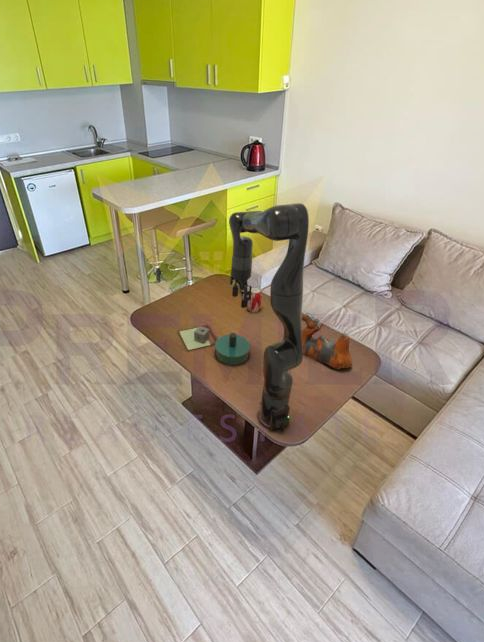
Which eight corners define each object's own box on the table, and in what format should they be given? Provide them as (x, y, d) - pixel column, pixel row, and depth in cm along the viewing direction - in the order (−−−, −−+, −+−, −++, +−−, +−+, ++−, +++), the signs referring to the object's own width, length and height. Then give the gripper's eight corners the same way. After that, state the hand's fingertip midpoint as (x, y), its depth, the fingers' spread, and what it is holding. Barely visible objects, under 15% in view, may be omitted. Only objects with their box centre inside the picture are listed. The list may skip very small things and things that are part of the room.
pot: (253, 361, 155) (254, 352, 152) (223, 369, 151) (223, 360, 148) (240, 341, 166) (240, 333, 163) (211, 348, 162) (211, 339, 159)
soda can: (259, 314, 184) (261, 294, 178) (245, 312, 185) (247, 292, 179) (261, 307, 190) (263, 287, 183) (247, 305, 191) (249, 285, 184)
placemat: (218, 343, 165) (218, 343, 164) (188, 350, 160) (188, 349, 160) (207, 326, 176) (207, 325, 175) (179, 332, 171) (179, 331, 171)
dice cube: (203, 344, 164) (203, 335, 161) (194, 340, 166) (194, 331, 163) (209, 338, 167) (209, 329, 164) (199, 334, 169) (199, 325, 167)
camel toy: (355, 366, 153) (365, 333, 144) (335, 379, 146) (345, 346, 137) (309, 336, 170) (315, 304, 161) (289, 346, 163) (294, 314, 154)
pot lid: (255, 354, 153) (257, 341, 149) (222, 362, 148) (223, 349, 144) (240, 333, 164) (241, 321, 161) (210, 340, 160) (210, 328, 156)
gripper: (224, 258, 140) (223, 294, 149) (240, 275, 129) (238, 313, 138) (242, 255, 142) (240, 291, 151) (259, 271, 131) (256, 309, 140)
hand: (239, 301), depth 144 cm, fingers open, 8 cm apart
